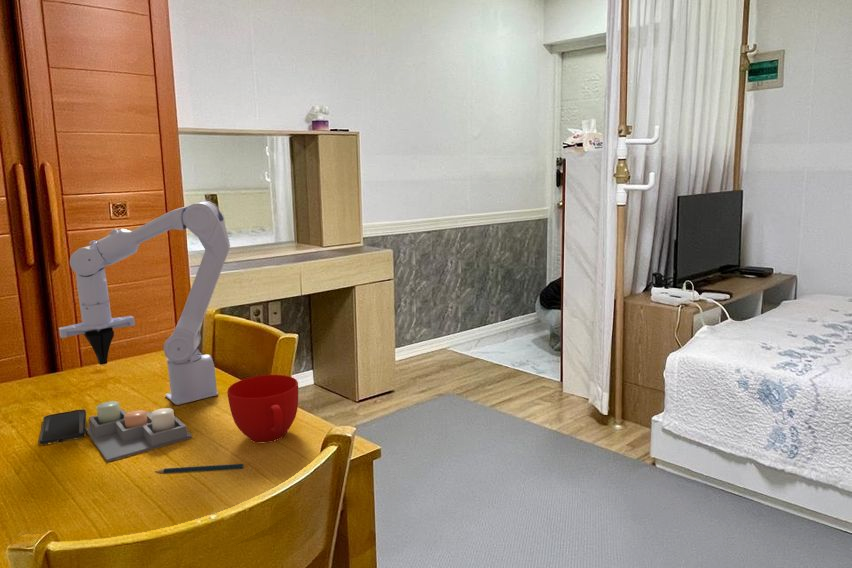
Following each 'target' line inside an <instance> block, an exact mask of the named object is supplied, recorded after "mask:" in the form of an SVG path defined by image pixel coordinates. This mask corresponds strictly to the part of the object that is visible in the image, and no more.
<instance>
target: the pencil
mask: <svg viewBox="0 0 852 568" xmlns="http://www.w3.org/2000/svg"><path fill="white" fill-rule="evenodd" d="M244 467H245V465H244V463H235V464H218V465H217V464H215V465H198V466H181V467H170V468H161V469H158V470H156V471H154V473H158V474H159V473H160V474H171V473H172V474H173V473H174V474H175V473H189V472H192V473H193V472H205V471H206V472H208V471H211V472H212V471H223V470H224V471H225V470H240V469H241V470H243V469H244Z"/></svg>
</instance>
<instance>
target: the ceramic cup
mask: <svg viewBox="0 0 852 568" xmlns="http://www.w3.org/2000/svg"><path fill="white" fill-rule="evenodd" d="M226 393H227V398H228V404H229V405H228V406H229V408H230V409H229V410H230V414H231V417H232V419H233V422H234V423H235V425H236V427H237V428H238V430H240V432H241V433H242V434H243V435H244V436H245V437H247V438H248V439H249V440H250V441H251V440H252V441H251V442H253V441H254V443H257V442H267V443H271V442H270V441H272V442H275V441H274V440H276V441H278V440H280V439H279V438H281V437H282V438H283V437H285V435H286V433H287V432H288V431H289V429H290V428H291V426H292V425H293V423H294V421H295V418H296V416H297V412H298V407H299V381H298V380H297V379H296V378H294V377H292V376H288V375H283V374H264V375H257V376H252V377H248V378H244V379H241V380H238V381H236V382H234V383H233V384H230V386H229V387H228V389H227V392H226ZM284 434H285V435H284ZM282 438H281V439H282ZM277 439H278V440H277Z"/></svg>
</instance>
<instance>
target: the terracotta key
mask: <svg viewBox="0 0 852 568" xmlns="http://www.w3.org/2000/svg"><path fill="white" fill-rule="evenodd" d="M147 413H148V412H147V411H146V410H145V409H143V410H142V409H140V410H139V409H138V410H132V411H128V412H126V414H125V415H124V420H125V428H126V429H128V428H132V427H136V426H140V425H144V424H147V423H148V421H147Z"/></svg>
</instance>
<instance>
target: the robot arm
mask: <svg viewBox="0 0 852 568" xmlns="http://www.w3.org/2000/svg"><path fill="white" fill-rule="evenodd" d="M186 229H188V230H189V231H190V232H191V233H192V234H193V235H195V236H196V237H197V239H198V240H199V242H200V243H201V245H202V246H203V248H204V252H203V256H202V257H201V260H200V263H199V266H198V269H197V271H196V274H195V277H194V279H193V281H192V282H193V283H192V285H191V288H190V291H189V293H188V296H187V298H186V301H185V304H184V306H183V307H184V308H183V310H182V311H181V315H180V317H179V320H178V321H177V324H176V326H175V328H174V330H173V332H172V333H171V335H170V336H169V337H168V338H167V339H166V340H165V342H164V344H163V353H164V355H165V357H166V363H167V372H168V379H169V381H168V382H169V386H170V387H169V388H170V392H168V393H165V397H166V398H167V399H168V400H169V401H170V402H172V403H173V405H176V406H178V405H183V404H187V403H191V402H194V401H195V402H196V401H199V400H203V399H208V398H211V397H214V396H218V395H219V392H218V390H217V389H218V388H217V380H216V379H217V378H216V377H217V376H216V368H215V364H214V363H215V362H214V361H213V358H212V356H211V355H210V354H207V353H206V354H202V353H201V351H200V350H199V349H198V347H199V345H200V343H201V340H202V339H201V338H202V337H201V329H202V326H203V322H204V318H205V315H206V312H207V311H208V307H209V306H210V305H209V304H210V302H211V299H212V296H213V294H214V292H215V288H216V286H217V283H218V281H219V278H220V276H221V274H222V270H223V268H224V265H225V262H226V259H227V257H228V254H229V251H230V249H231V248H230V247H231V243H230V239H229V236H228V231H227V227H226V223H225V216H224V215H223V213H222V212H221V210H220V209H219V207H218V206H217V204H215V203H213V202H211V201H209V200H200V201H198V202H195V203H192V204H189V205H185V206H183V207H179V208H176V209H173V210H170V211H168V212H166V213H164V214H162V215H160V216H158V217H156V218H154V219H153V220H151V221H149V222H146V223H145V224H143V225H141V226H139V227H138V228H135V229H133V230H129V229H126V228H120V229H118V228H114V229H112V230H111V231H109V234H108V235H106V236H105V237H102V238H100V239H98V240H95V239H94V240H91V241H89V243H88V244H89V245H88V246H84V247H80V248H78V249H77V250H75V251H74V252H73V253H72V254H71V256H70V258H69V266H70V268H71V270H72V271H73V272H74V273H75V277H76V287H77V289H76V290H77V295H78V300H79V307H80V308H79V309H80V315H81V316H80V318H81V322H80V323H79V322H78V323H76V324H70V325H66V326H61V327H58V333H59V337H60V338H61V339H65V338H68V337H73V336H78V335H84V337H85V338H86V340H87V342H88V343H89V344H90V346H91V348H92V349H93V351H94V354H95V355H96V359H97V363H98V364H99V365H100V366H101V365H102V366H103V365H106V364H108V356H109V352H110V351H109V350H110V347H111V343H112V341H113V338H114V337H115V336H114V335H115V331H114V329H119V328H126V327H135V326H136V322H135V317H134V316H133V315H128V316H121V317H119V316H118V317H112V312H111V302H110V298H109V297H110V296H109V290H108V289H109V288H108V280H107V277H106V276H107V275H106V267H107V266H108V267H110V266H112V265H114V264H117V263H118V262H120V261H122V260H125V259H126V258H128V257H130V256H132V255H134V254H137V252H138V250H139V247H140V245H141V244H142V243H145V242H147V241H148V240H150V239H153V238H155V237H157V236H160V235H162V234H164V233H166V232H168V231H170V230H178V231H184V230H186Z"/></svg>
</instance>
